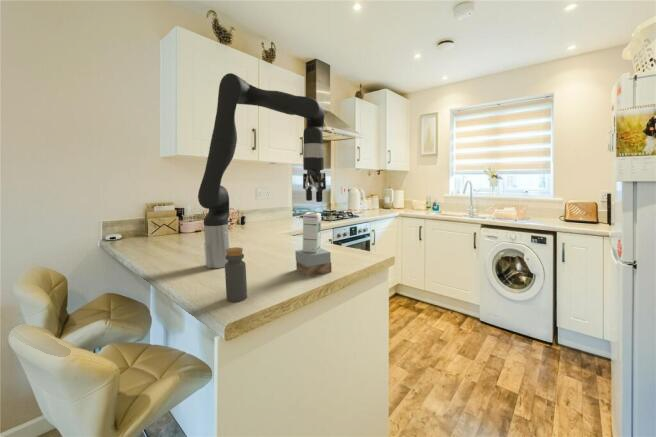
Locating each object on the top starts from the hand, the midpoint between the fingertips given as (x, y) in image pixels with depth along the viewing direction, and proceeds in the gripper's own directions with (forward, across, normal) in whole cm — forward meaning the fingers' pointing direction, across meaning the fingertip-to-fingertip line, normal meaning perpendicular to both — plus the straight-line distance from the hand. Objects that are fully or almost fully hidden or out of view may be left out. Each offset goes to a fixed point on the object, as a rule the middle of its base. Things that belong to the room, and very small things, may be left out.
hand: (314, 201), depth 111 cm
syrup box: (+19, -2, -1) cm, 19 cm away
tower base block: (+27, -1, 0) cm, 27 cm away
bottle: (+27, +12, -32) cm, 44 cm away
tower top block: (+23, -1, 0) cm, 23 cm away
